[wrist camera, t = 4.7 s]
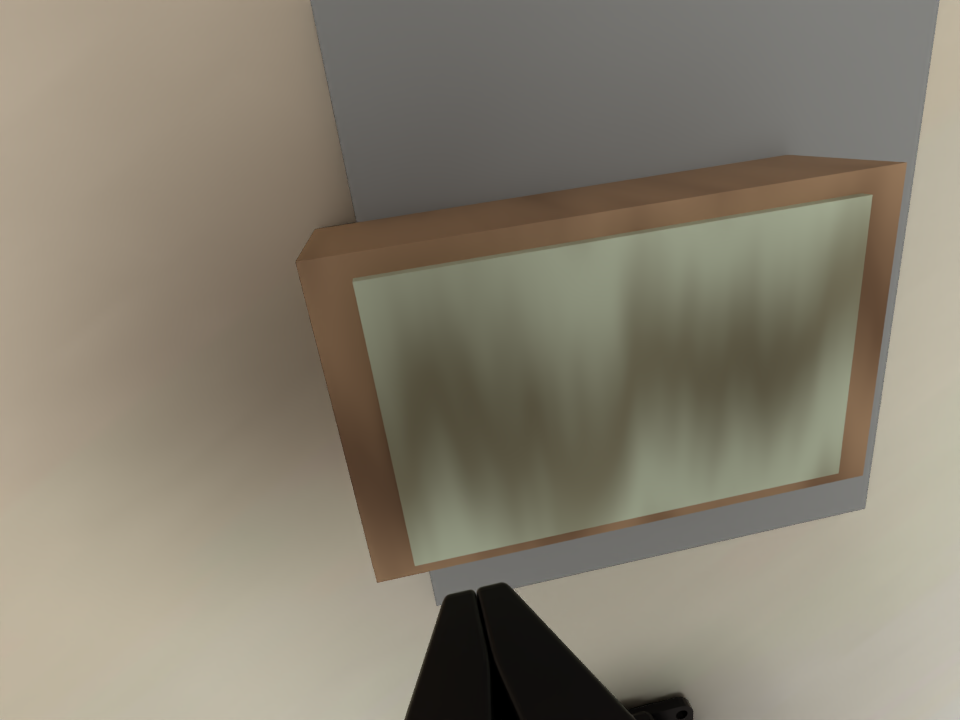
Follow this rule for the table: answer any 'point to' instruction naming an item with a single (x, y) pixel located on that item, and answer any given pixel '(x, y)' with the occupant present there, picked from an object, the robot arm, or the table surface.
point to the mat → (620, 147)
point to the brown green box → (603, 352)
